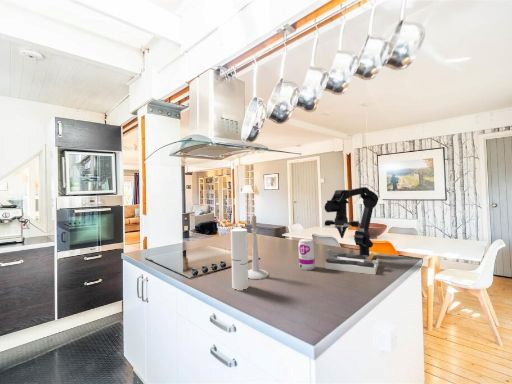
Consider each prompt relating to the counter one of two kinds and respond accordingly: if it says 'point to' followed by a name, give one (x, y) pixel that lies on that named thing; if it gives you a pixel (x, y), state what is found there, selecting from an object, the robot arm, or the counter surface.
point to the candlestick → (255, 256)
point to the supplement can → (306, 254)
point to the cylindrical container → (239, 259)
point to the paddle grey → (330, 253)
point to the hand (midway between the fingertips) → (342, 238)
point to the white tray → (352, 267)
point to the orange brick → (370, 256)
